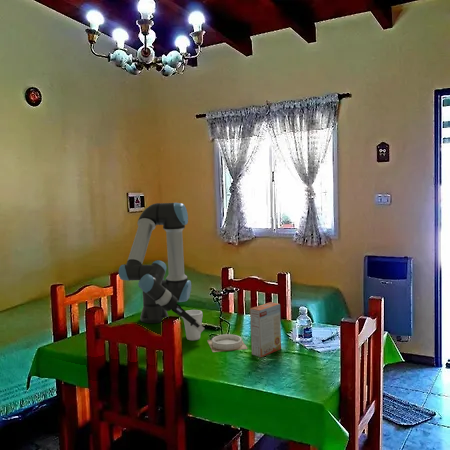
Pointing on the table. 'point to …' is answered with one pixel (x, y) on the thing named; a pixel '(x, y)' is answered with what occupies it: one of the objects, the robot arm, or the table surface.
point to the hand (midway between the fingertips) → (197, 326)
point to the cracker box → (265, 329)
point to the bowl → (227, 342)
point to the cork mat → (226, 350)
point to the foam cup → (191, 330)
